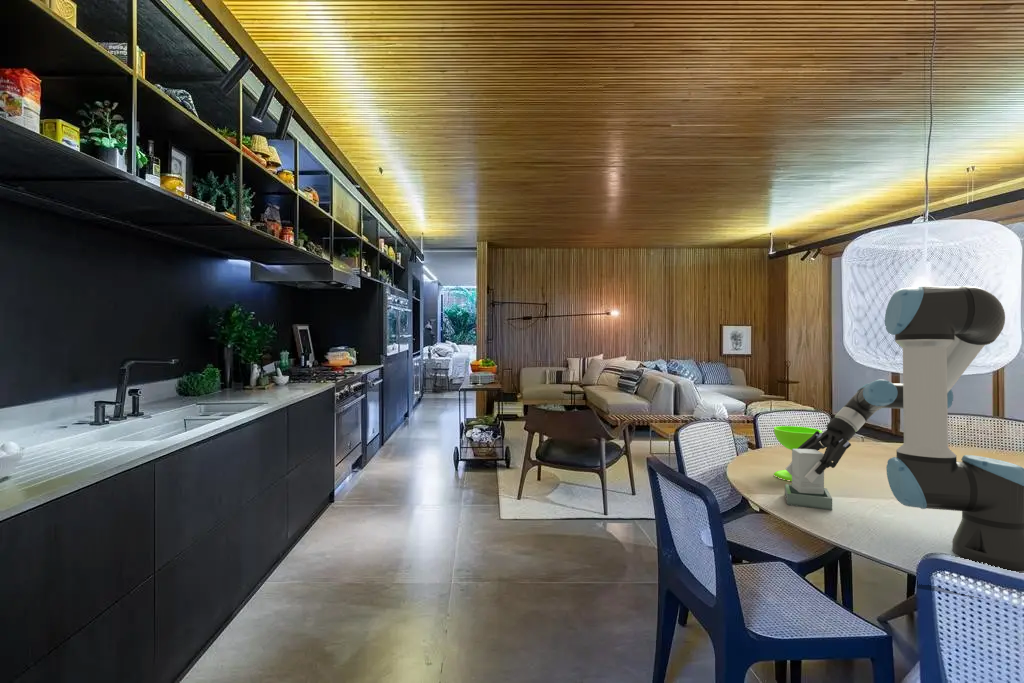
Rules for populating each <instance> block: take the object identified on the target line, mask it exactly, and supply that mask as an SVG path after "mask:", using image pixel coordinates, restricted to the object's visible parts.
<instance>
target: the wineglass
mask: <svg viewBox="0 0 1024 683" xmlns="http://www.w3.org/2000/svg"><path fill="white" fill-rule="evenodd" d="M816 431H818V432H819V433H823V430H821V429H818V428H814V427H807V426H797V425H796V426H795V425H778V426H774V427H773V432H774V436H775V438H776V440H777V441H778V442H779V443H780V445H782V446H783V447H784V448H786V449H788V450H791V451H792V449H797V448H798V447H800V446H801V445H802V444H803V443H804V442H806V441H807V440H808V439H809V438H810V437H812V436H813V434H814V433H815V432H816ZM773 475H775V476H777V477H779V478H782V479H785V480H790V481H792V475H791V474H790V473H789V472H788V471H787V470H786V469H780V470H777V471H775V472H774V473H773Z"/></svg>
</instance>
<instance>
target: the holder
mask: <svg viewBox="0 0 1024 683" xmlns="http://www.w3.org/2000/svg"><path fill="white" fill-rule="evenodd" d="M784 496H786V497H785V500H786V505H787V506H793V507H802V508H811V509H819V510H828V511H833V497H832V495H831V493H830V491H829V489H828V488H827V487H824V494H810V493H799V492H798V491H797V490H795V489H794V488H793V487H792V484H787V483H785V484H784Z"/></svg>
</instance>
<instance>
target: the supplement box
mask: <svg viewBox="0 0 1024 683" xmlns="http://www.w3.org/2000/svg"><path fill="white" fill-rule="evenodd" d="M823 456H824V453H823V452H821V451H819V450H818V451H817V450H816V449H792V450H791V462H792V482H791V485H792V487H793V488H794V489H795V490H797V491H798V492H799V493H810V494H824V488H825V470H824V471H823V472H822V473H821V474H820V475H819V476H818V477H817V478H816V479H815V480H814V481H813V482H812V483H810V482H809V481H808V480H807V479H806V478H805V477H804V476H805V475H806V474H807V473H808V472H809V471H810V470H811V469H812V468H813V467H814V465H815V464H816V463H817V462H818V461H819V462H820V460H821V459H822V458H823ZM820 463H821V462H820Z"/></svg>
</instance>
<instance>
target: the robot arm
mask: <svg viewBox="0 0 1024 683" xmlns="http://www.w3.org/2000/svg"><path fill="white" fill-rule="evenodd" d="M999 300H1000V299H998V298H997V297H996V296H995V295H994V294H993V293H991V292H990V291H988V290H986V289H983V288H981V287H978V286H977V287H976V286H974V285H973V286H971V285H962V286H961V285H960V286H913V287H903V288H900V289H898V290H897V291H895V292H894V293H893V294H892V296H890V298H889V300H888V303H887V306H886V308H885V309H886V310H885V315H884V326H885V330H886V331H887V333H888V334H891V335H892V336H893V335H894V339H895V340H894V342H895V343H896V344H897V345H898V346H900V347H901V349H902V383H895V382H894V383H893V382H891V381H889V380H888V379H887V380H886V379H876V380H874V381H871V382H869V383H865V384H863V385H862V386H861V387H860V388H859V389H857V391H856V393H855V394H854V395H853V396H852V397H851V398H850V399H849V400H848V402H847V403H846V404H845V405H844V406H843V407H842V408H841V409H840V410H839V411H838V412H837V413H836V414H835V415H834V417H833V418H832V419H831V420H830V421H829V422H828V423H827V424H826V430H825V431H822V433H819V432H818V431H816V432H815V433H814V434H813V436H812V437H810V438H809V439H808V440H807V441H806V442H804V443H803V444H802V445H801V446H800V447H798V448H797V449H816V450H817V451H819V450H823V449H825V450H824V453H823V454H824V456H823V458H822V459H821V460H820V462H821V463H820V462H819V461H818V462H817V463H816V464H815V465H814V467H813V468H812V469H811V470H810V471H809V472H808V473H807V474H806V475H805V476H804V477H805V478H806V479H807V480H808V481H809V482H810V483H812V482H813V481H814V480H815V479H816V478H817V477H818V476H819V475H820V474H821V473H822V472H823V471H824V472H825V470H827V469H829V468H832V469H834V468H835V467H836V466H837V465H838V463H839V461H840V460H841V458H842V457H843V456H844V455H845V452H846V451H847V450H848V449H849V448H850V447H851V446H852V444H851V443H850V442H849V441H850V440H851V439H852V438H853V437H854V436H855V435H856V432H858V431H859V430H860V429H861V428H862V427H863V426H864V424H866V422H868V420H869V419H870V418H871V417H872V416H873V415H874V414H875V413H876V412H878V411H879V410H881V409H902V410H903V444H902V445H900V446H899V447H898V448H897V449H896V456H892V457H890V458H889V459H888V460H887V462H886V463H887V464H886V477H887V481H888V485H889V488H890V490H891V493H892V494H893V496H894V498H895V499H896V501H898V503H900V504H901V505H903V506H905V507H910V508H917V509H922V510H925V509H926V510H927V509H928V510H941V511H944V510H945V511H957V512H961V521H960V522H959V524H958V527H957V529H956V531H955V534H954V536H953V538H952V541H951V542H952V544H951V545H952V548H951V549H952V551H953V552H954V553H956V554H957V555H958V556H960V557H962V558H965V559H967V558H968V559H967V560H969V559H971V560H970V561H972V560H974V561H973V562H975V561H978V562H983V563H987V564H990V565H994V566H999V567H1002V568H1001V569H1004V568H1006V569H1005V570H1012V571H1024V467H1023V466H1021V465H1018V464H1015V463H1012V462H1009V461H1004V460H1000V459H997V458H996V459H995V458H991V457H986V456H980V455H973V454H964V455H962V458H961V461H957V455H956V453H955V452H953V451H952V450H951V449H950V448H949V419H948V418H949V416H948V414H949V413H948V412H949V410H948V409H950V408H951V407H952V405H953V401H954V392H953V390H952V388H953V387H954V386H955V384H956V383H957V382H958V380H959V379H960V378H961V376H962V375H963V374H964V373H965V371H967V368H969V366H970V365H971V364H972V362H973V361H974V360H975V359H976V357H977V356H978V355H979V353H980V352H981V351H982V350H983V348H984V347H985V346H987V345H990V344H993V343H994V342H995V340H996V339H997V338H998V337H999V336H1000V334H1001V333H1002V332H1003V329H1004V327H1005V323H1006V312H1005V309H1004V306H1003V304H1002V303H1001V301H999ZM784 470H787V471H788V472H789V473H790V474H791V475H792V461H791V462H790V463H789V464H788V465H787V466H786V467H785V469H784ZM978 562H977V563H978ZM994 566H993V567H994Z"/></svg>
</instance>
